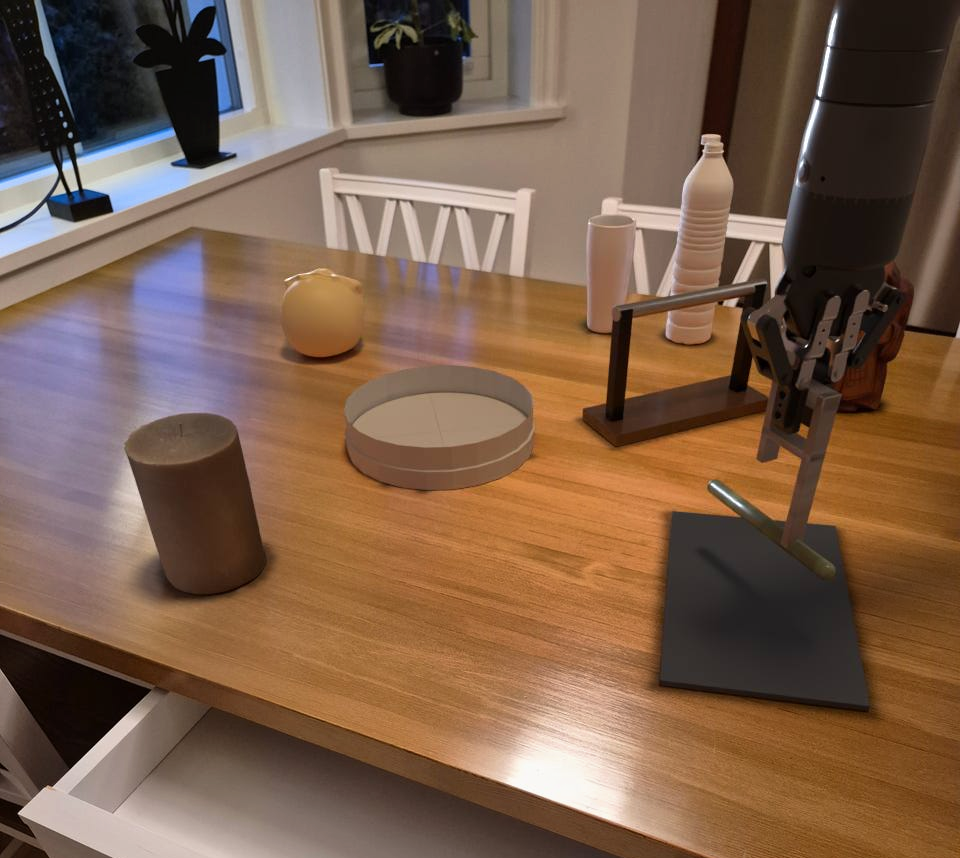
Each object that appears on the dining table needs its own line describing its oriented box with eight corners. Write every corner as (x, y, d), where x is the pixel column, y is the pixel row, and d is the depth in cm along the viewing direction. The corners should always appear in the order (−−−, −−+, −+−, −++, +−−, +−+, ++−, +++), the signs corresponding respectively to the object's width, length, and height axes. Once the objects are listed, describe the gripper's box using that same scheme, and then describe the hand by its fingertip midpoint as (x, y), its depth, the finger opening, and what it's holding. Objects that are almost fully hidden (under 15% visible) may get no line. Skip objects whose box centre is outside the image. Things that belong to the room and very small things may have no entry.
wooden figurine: (789, 412, 106) (824, 259, 95) (778, 391, 111) (810, 242, 99) (887, 413, 105) (934, 259, 94) (872, 391, 110) (915, 242, 99)
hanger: (838, 580, 68) (887, 418, 60) (822, 585, 68) (869, 423, 59) (716, 488, 80) (743, 340, 71) (702, 492, 79) (726, 344, 70)
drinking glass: (576, 333, 128) (581, 224, 118) (588, 317, 132) (595, 212, 123) (620, 338, 126) (630, 228, 116) (632, 322, 130) (642, 215, 121)
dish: (351, 499, 92) (345, 457, 89) (343, 410, 109) (338, 372, 106) (553, 479, 95) (554, 438, 92) (515, 395, 111) (515, 358, 108)
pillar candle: (282, 543, 86) (253, 402, 76) (240, 602, 79) (203, 454, 69) (193, 533, 88) (154, 394, 78) (144, 589, 81) (95, 443, 71)
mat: (671, 515, 89) (672, 510, 88) (834, 530, 86) (835, 525, 86) (658, 685, 69) (659, 680, 69) (868, 711, 67) (870, 706, 66)
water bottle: (712, 345, 123) (743, 147, 107) (666, 344, 124) (690, 147, 108) (707, 323, 130) (735, 133, 113) (663, 322, 130) (685, 134, 114)
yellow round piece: (376, 335, 129) (368, 259, 122) (353, 367, 120) (343, 287, 113) (303, 332, 130) (291, 257, 123) (275, 363, 121) (260, 284, 114)
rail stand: (768, 409, 107) (794, 287, 97) (616, 447, 100) (627, 319, 91) (729, 385, 113) (749, 267, 103) (582, 419, 106) (589, 296, 96)
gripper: (810, 205, 51) (755, 467, 62) (980, 178, 55) (900, 428, 66) (732, 179, 56) (694, 425, 67) (892, 156, 60) (832, 391, 71)
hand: (797, 426), depth 67 cm, fingers closed on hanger, 1 cm apart
